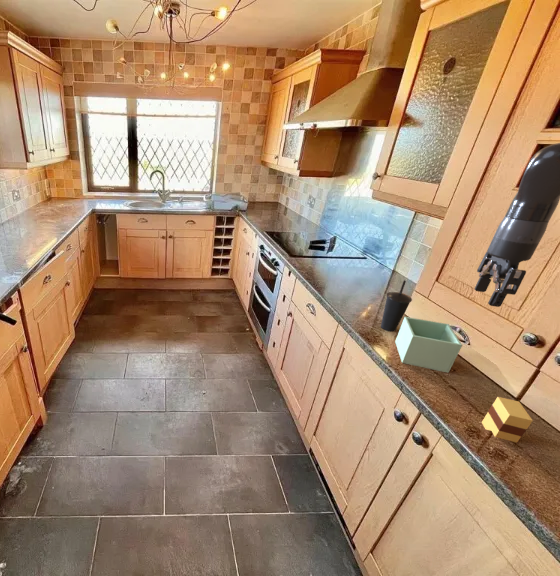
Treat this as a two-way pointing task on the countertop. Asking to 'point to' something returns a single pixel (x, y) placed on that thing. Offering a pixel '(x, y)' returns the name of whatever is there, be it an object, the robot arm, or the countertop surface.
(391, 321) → the drinking cup
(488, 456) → the countertop surface
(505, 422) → the yellow brown striped block
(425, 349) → the storage box
